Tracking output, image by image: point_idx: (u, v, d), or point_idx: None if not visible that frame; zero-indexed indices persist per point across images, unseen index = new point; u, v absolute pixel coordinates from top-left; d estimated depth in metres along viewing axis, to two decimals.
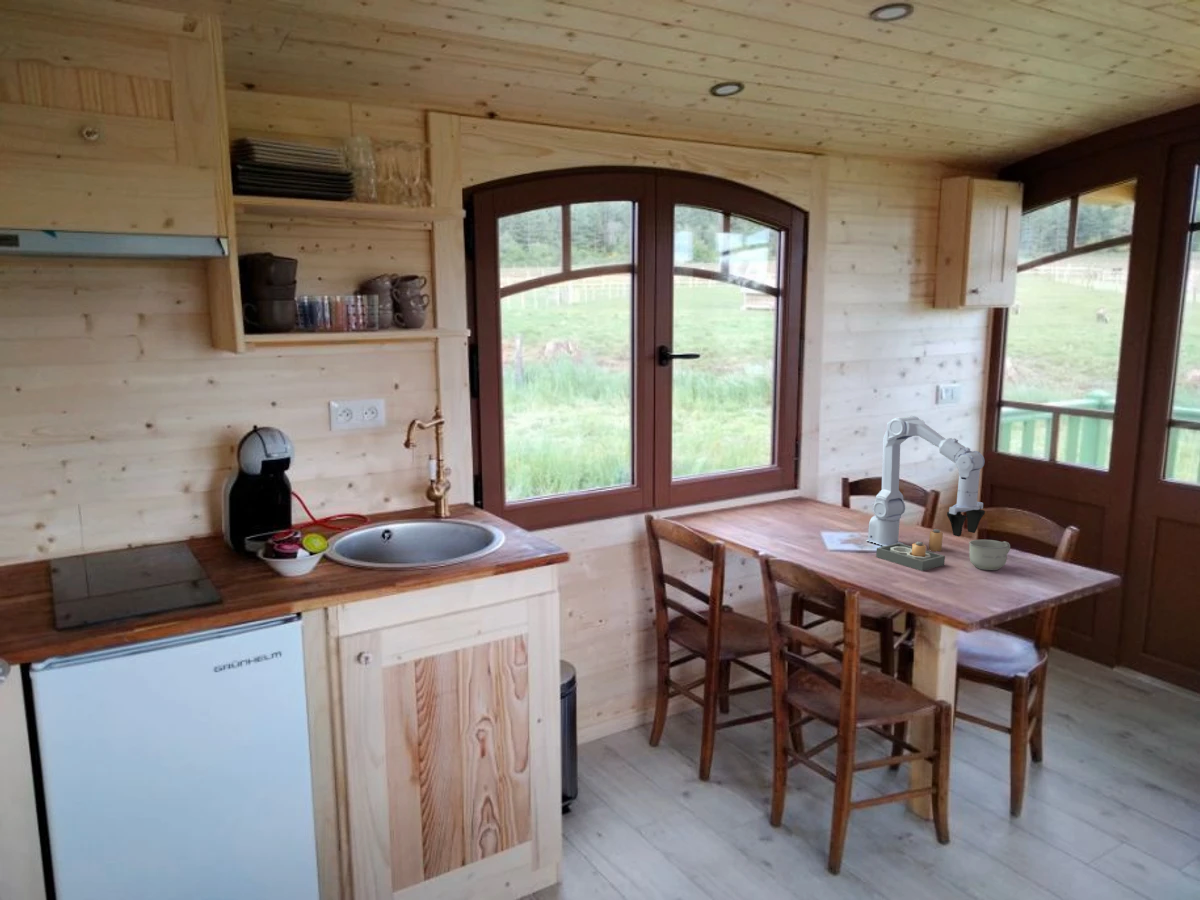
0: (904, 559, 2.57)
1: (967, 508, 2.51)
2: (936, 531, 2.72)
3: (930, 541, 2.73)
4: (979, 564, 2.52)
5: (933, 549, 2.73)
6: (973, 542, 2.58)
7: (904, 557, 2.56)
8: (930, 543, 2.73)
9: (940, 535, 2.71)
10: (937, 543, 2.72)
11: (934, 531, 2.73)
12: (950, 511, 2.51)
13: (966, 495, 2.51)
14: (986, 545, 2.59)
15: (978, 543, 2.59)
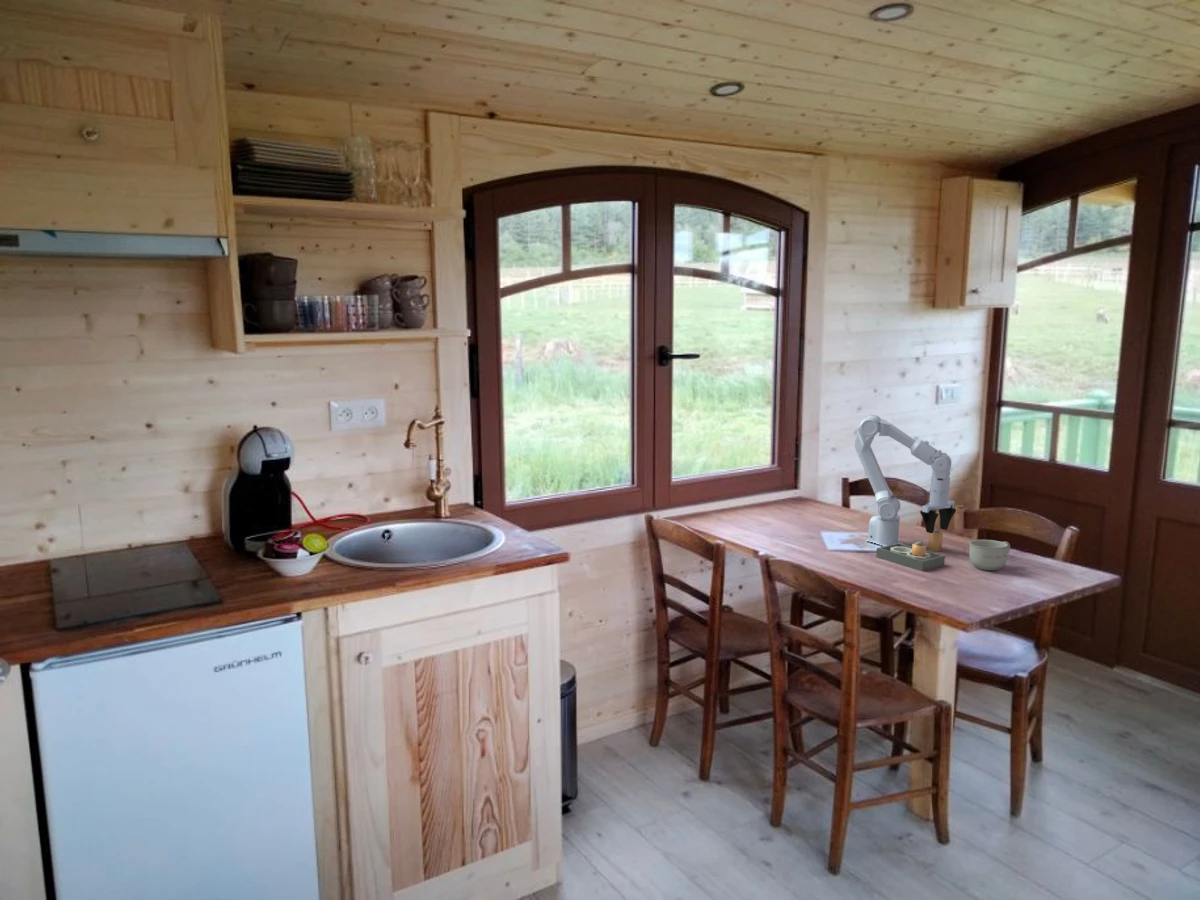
0: (904, 559, 2.57)
1: (939, 506, 2.68)
2: (936, 531, 2.72)
3: (930, 541, 2.73)
4: (979, 564, 2.52)
5: (933, 549, 2.73)
6: (973, 542, 2.58)
7: (904, 557, 2.56)
8: (930, 543, 2.73)
9: (940, 535, 2.71)
10: (937, 543, 2.72)
11: (934, 531, 2.73)
12: (923, 509, 2.68)
13: (938, 494, 2.69)
14: (986, 545, 2.59)
15: (978, 543, 2.59)
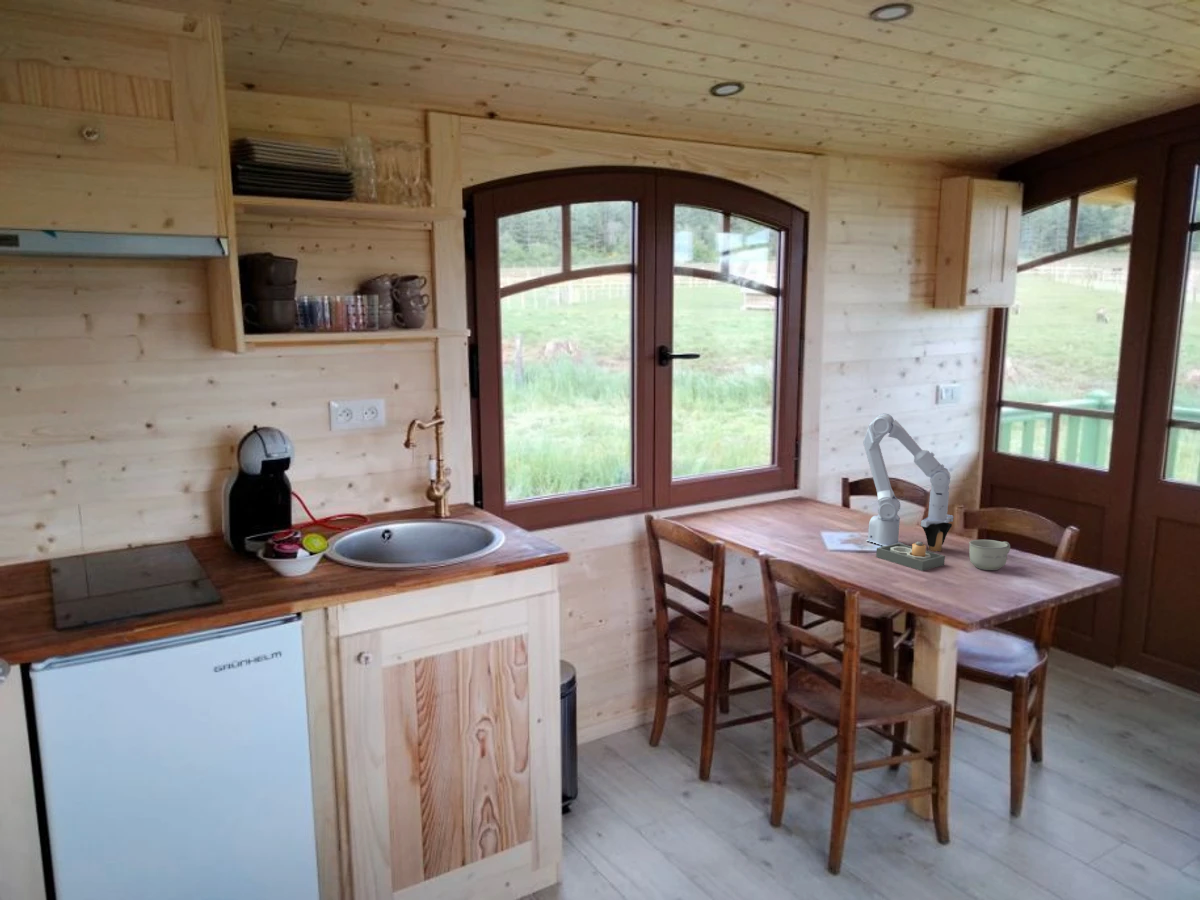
0: (904, 559, 2.57)
1: (937, 521, 2.69)
2: None
3: None
4: (979, 564, 2.52)
5: (933, 549, 2.72)
6: (973, 542, 2.58)
7: (904, 557, 2.56)
8: None
9: (940, 535, 2.71)
10: (937, 543, 2.72)
11: None
12: (922, 524, 2.69)
13: (937, 509, 2.69)
14: (986, 545, 2.59)
15: (978, 543, 2.59)
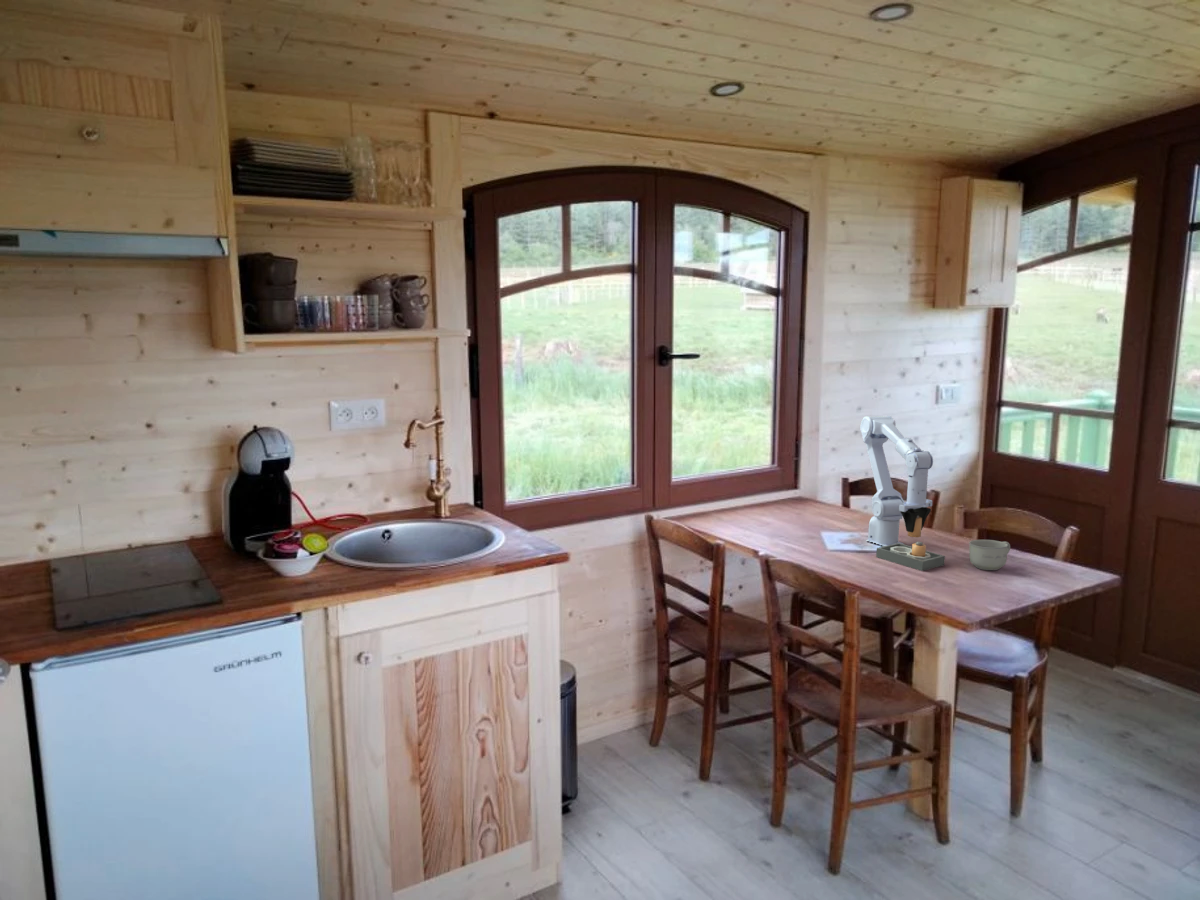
0: (904, 559, 2.57)
1: (916, 506, 2.61)
2: None
3: None
4: (979, 564, 2.52)
5: (912, 535, 2.64)
6: (973, 542, 2.58)
7: (904, 557, 2.56)
8: None
9: (919, 520, 2.63)
10: (916, 528, 2.63)
11: None
12: (900, 508, 2.61)
13: (915, 493, 2.61)
14: (986, 545, 2.59)
15: (978, 543, 2.59)
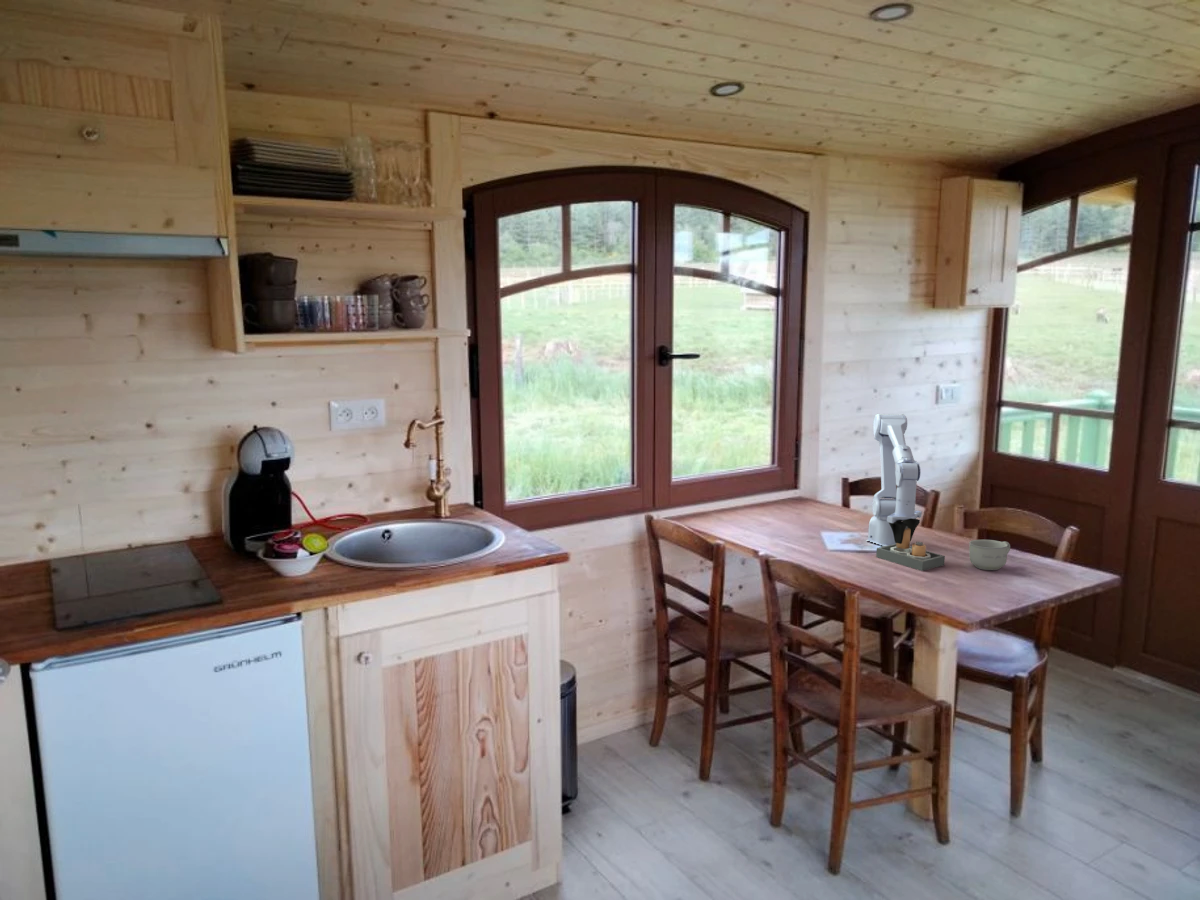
0: (904, 559, 2.57)
1: (904, 517, 2.58)
2: None
3: None
4: (979, 564, 2.52)
5: (900, 546, 2.62)
6: (973, 542, 2.58)
7: (904, 557, 2.56)
8: None
9: (908, 532, 2.61)
10: (904, 540, 2.61)
11: None
12: (888, 520, 2.58)
13: (903, 504, 2.59)
14: (986, 545, 2.59)
15: (978, 543, 2.59)
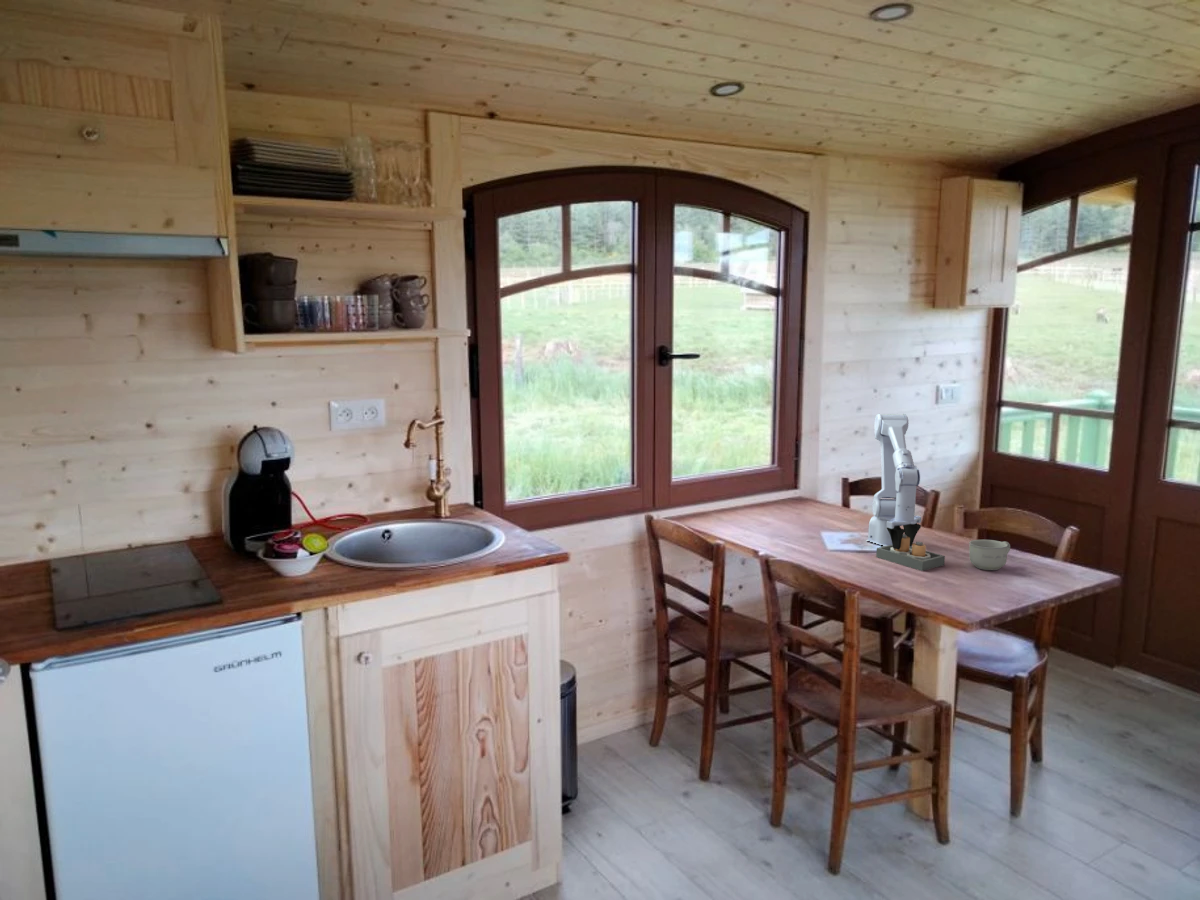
0: (904, 559, 2.57)
1: (904, 522, 2.59)
2: (903, 536, 2.62)
3: None
4: (979, 564, 2.52)
5: None
6: (973, 542, 2.58)
7: (904, 557, 2.56)
8: (897, 549, 2.63)
9: (907, 540, 2.61)
10: (904, 548, 2.61)
11: None
12: (887, 525, 2.59)
13: (903, 510, 2.59)
14: (986, 545, 2.59)
15: (978, 543, 2.59)
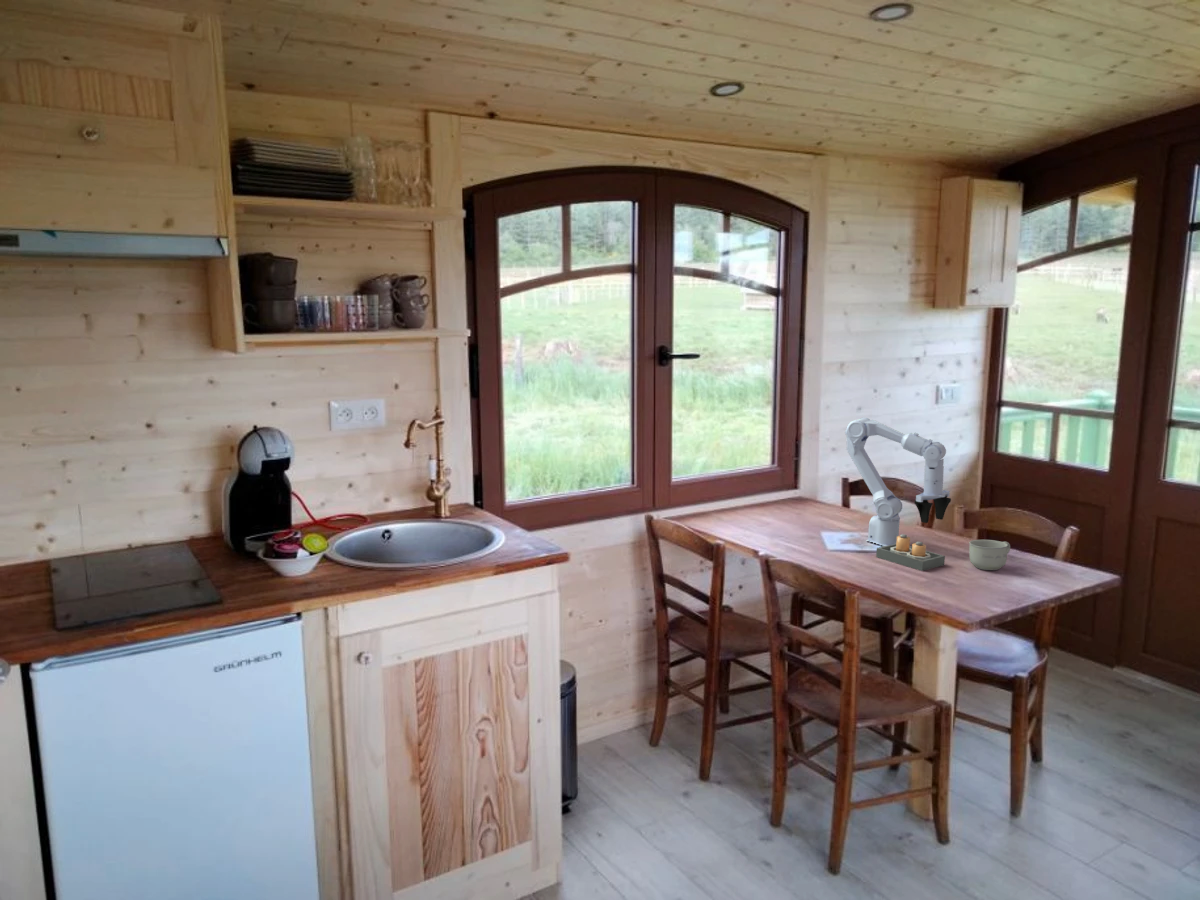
0: (904, 559, 2.57)
1: (933, 496, 2.66)
2: (903, 536, 2.62)
3: (897, 547, 2.63)
4: (979, 564, 2.52)
5: None
6: (973, 542, 2.58)
7: (904, 557, 2.56)
8: (897, 549, 2.63)
9: (907, 540, 2.61)
10: (904, 548, 2.61)
11: (901, 536, 2.62)
12: (917, 499, 2.66)
13: (931, 484, 2.67)
14: (986, 545, 2.59)
15: (978, 543, 2.59)
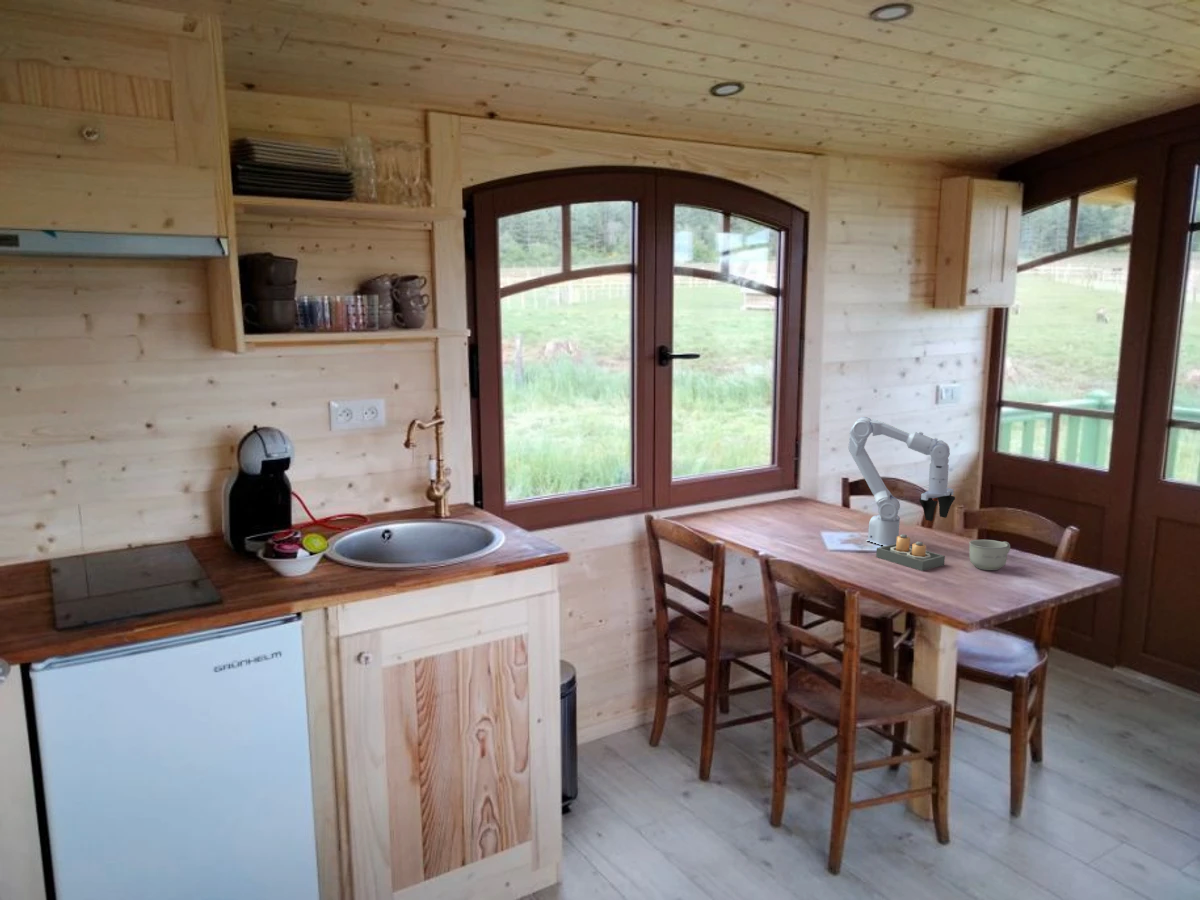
0: (904, 559, 2.57)
1: (938, 494, 2.68)
2: (903, 536, 2.62)
3: (897, 547, 2.63)
4: (979, 564, 2.52)
5: None
6: (973, 542, 2.58)
7: (904, 557, 2.56)
8: (897, 549, 2.63)
9: (907, 540, 2.61)
10: (904, 548, 2.61)
11: (901, 536, 2.62)
12: (922, 497, 2.68)
13: (937, 482, 2.69)
14: (986, 545, 2.59)
15: (978, 543, 2.59)
